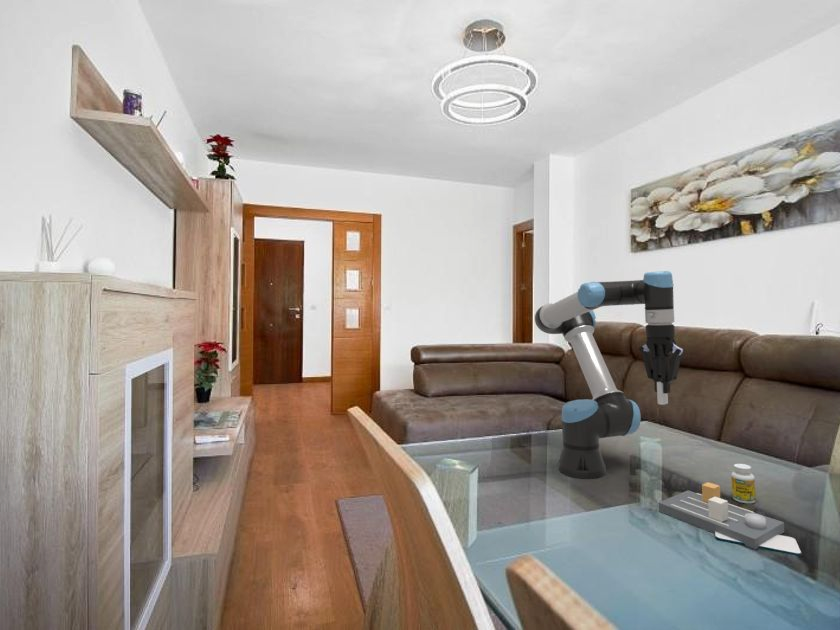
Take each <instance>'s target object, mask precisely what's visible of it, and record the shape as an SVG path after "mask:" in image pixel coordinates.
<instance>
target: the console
mask: <svg viewBox="0 0 840 630" xmlns="http://www.w3.org/2000/svg"><path fill="white" fill-rule="evenodd" d="M658 512H659V513H662V514H665V515H667V516H670V517H673V518H675V519H677V520H679V521H683V522H685V523H688V524H689V525H692V526H695V527H697V528H700V529H703V530H704V531H705V530H706V531H708V532H710V533H712V534H714V531H715V532H718V533H720V534H723V535H725V536H728V537H730V538H733V539H735V540H738V541H740V542H743V543H744V544H745V546H744V547H747V548H750V549H753V550H755V551H756V550H757V549H759V548H758V546H759V545H761V544H762V543H764V542H766V541H768V540H769V539H771V538H773V537H774V536H776V535H783V533H785V522H784V521H781V520H777V519H775V518H771V517H768V516H766V515H763V514H760V513H757V512H754V511H752V510H749V509H747V508H743V507H740V506H737V505H735V504H731V503H729V502H728V519H727V520H725V521H723V522H720V521H717V520H714V519H712V518H709V509H708V503H705V502H703V501H702V493H698V492H694V491H691V490H688V489H687V490H685V491H683V492H680V493H678V494H675V495H673V496H670V497H668V498H666V499H664V500H661V501H659V502H658Z"/></svg>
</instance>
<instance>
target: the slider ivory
mask: <svg viewBox="0 0 840 630" xmlns="http://www.w3.org/2000/svg"><path fill="white" fill-rule="evenodd" d="M728 503H729V501H728V500H726V499H723V498H721V497H720V498H718V497H713V498H711V499H708V509H709V518H712V519H714V520H717V521H720V522H723V521H725V520H727V519H728Z"/></svg>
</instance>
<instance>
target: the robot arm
mask: <svg viewBox="0 0 840 630" xmlns="http://www.w3.org/2000/svg"><path fill="white" fill-rule="evenodd" d="M674 303H675V302H674V280H673V274H672V272H671V271H669V270H661V271H660V270H659V271H658V270H657V271H647V272H645V273H644V274H643V279H637V280H619V281H617V280H616V281H615V280H614V281H591V282H585V283H582V284H580V286H579V288H578V290H577V291H576V292H574V293H573V294H570V295H568V296H566V297H564V298H562V299H560V300H558V301H556V302H554V303H552V302H550V303H547V304H546V303H545V304H544V305H542V306H540V307H539V308H538V309H537V310H536V311H535V314H534V322H535V325H536V326H537V328H538V329H539V331H541V332H543V333H544V334H549V335H559V334H562V336H563V339H564V340H565V342H567V343H570V345H571V347H572V350H573V351H574V354H575V357H576V359H577V361H578V364H579V366H580V369H581V371H582V374H583V376H584V379H585V381H586V383H587V386H588V388H589V391H590V393H591V396H592V399H588V398H587V399H586V398H584V399H574V400H570V401H567V402H566V403H564V404H563V406H561V407H562V408H561V428H562V429H561V431H562V433H561V434H562V450H561V453H560V457H559V459H558V470H559V472H561V474H563V475H566V476H568V477H572V478H577V479H587V480H588V479H597V478H601V477H603V476H605V475H606V473H607V469H606V468H607V465H606V463H605V462H604V459H603V456H602V453H601V450H600V439H604V438H612V437H624V436H625V437H626V436H628V435H633V434H635V433H637V431H638V430H639V429H640V426H641V419H642V417H641V410H640V407H639V406H638V404H637V403H636V402H635V401H634V400H632V399H627V397H626V395H625V393H624V392H623V391H622V390H619V389H617V387H616V384H615V382H614V379H613V377H612V376H611V373H610V370H609V368H608V367H607V364H606V362H605V360H604V357H603V355H602V353H601V351H600V348H599V347H598V343H597V342H596V340H595V337H594V336H593V334H594V332H595V328H596V324H597V321H596V319H597V318H596V314H595V312H594V310H596V309H599V308H603V307H608V306H609V307H612V306H629V305H631V306H632V305H644V318H645V323H646V324H647V325H645V337H646V341H645V344H643V345H641V346H639V347H638V350H639V352H640V354H641V356H642V360H643V363H644V367H645V372H646V376H647V378H648V380H649V379H650V380H652V381H653V382H654V391H655V393H657V398H656V399H657V404H658V405H662V406H664V405H668V404H669V398H668V394H669V393H670V392H671V386H670V385H671V382H673V381H677V378H678V373H679V368H680V364H681V360H682V356H683V355H684V353H685V349H684V348H683V347H679V346H677V343H676V341H675V336H676V333H675V332H676V331H675V330H676V329H675V328H676V327H675V325H674V324H673V323H675V308H674ZM671 353H672V355H671Z"/></svg>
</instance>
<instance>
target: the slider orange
mask: <svg viewBox="0 0 840 630" xmlns="http://www.w3.org/2000/svg"><path fill="white" fill-rule="evenodd" d="M701 494H702V501H703V502H705V503H708V499H711V498H713V497H718V498H721V485H718V484H716V483H712V482H708V481H707V482H705V483H702V484H701Z"/></svg>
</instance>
